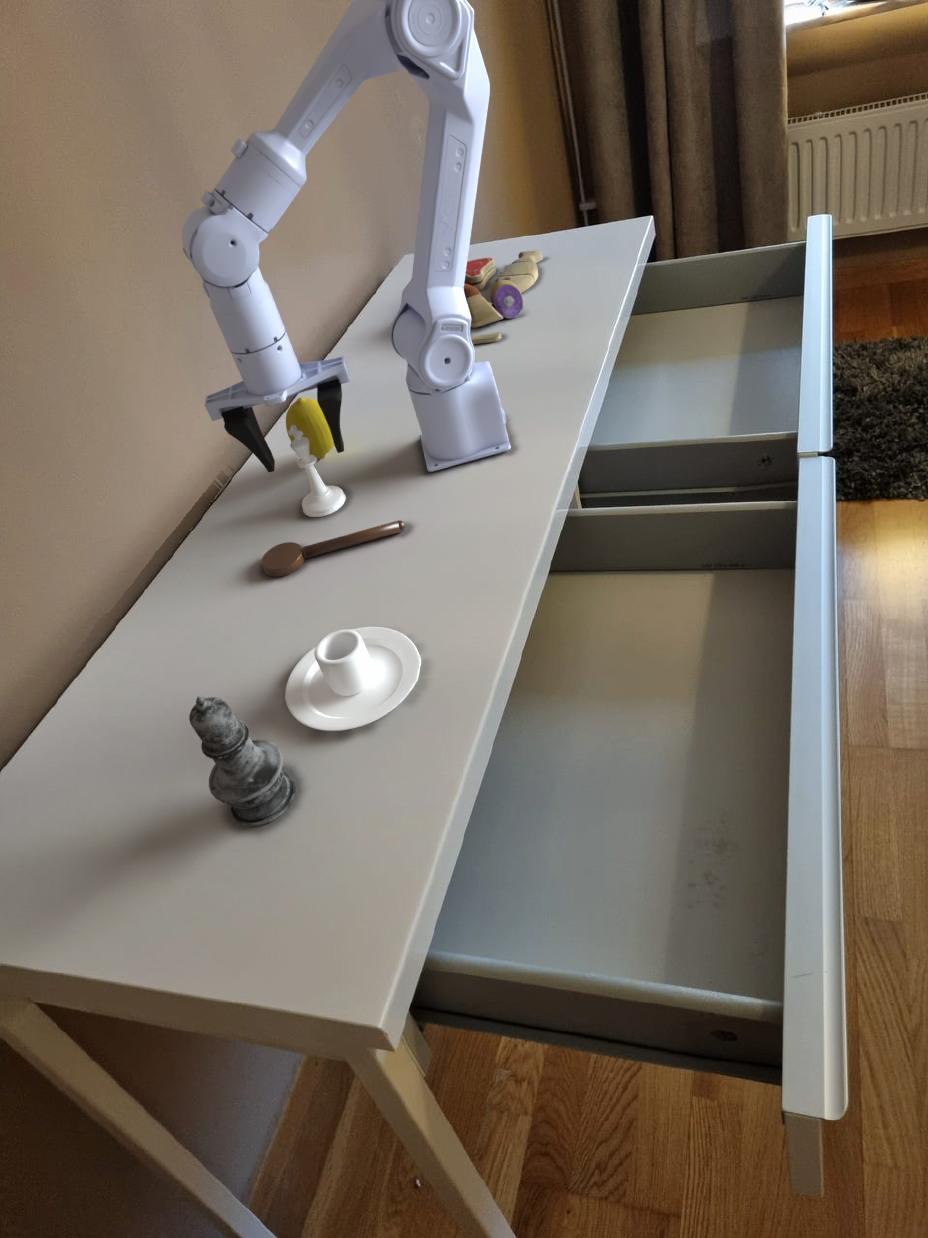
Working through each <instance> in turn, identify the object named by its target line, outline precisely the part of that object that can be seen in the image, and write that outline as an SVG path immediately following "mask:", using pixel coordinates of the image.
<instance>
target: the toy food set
mask: <svg viewBox="0 0 928 1238" xmlns="http://www.w3.org/2000/svg"><path fill="white" fill-rule="evenodd" d="M543 259H544V258H543V253H542V251H540V250H528V251H527V250H526V251H520V252H519V253H518V258H517V259H516V260H514V261H513V262H511V263H510V264H509V265H507V267H505V268H504V269H503V270H502V271H501V272H500V273H499V274H498V276H497V277H496V279H495V282H494V284H493V285H492V286H491V289H490V292H489V299H490V302H489V301H488V300H487V299H486V298H485V297H484V296H483V295H482V294H481V292H480V291H482V290H483V289H485V287H486V284H487V282H489V280H490V279H491V278H492V277H493V276H495V274H496V273H497V268H496V264H495V263H496V262H495V258H494V257H489V256H488V257H481V258H476V259H472V260H467V267H466V274H465V281H464V294H465V298H466V301H467V304H468V308H469V311H470V315H471V326H470V328H473V329H476V328H480V327H483V326H486V325H489V324H492V323H494V322H498V321H501V320H503V319H504V318H505V319H515V318H517V317H518V316H519V315H520V314H521V313H522V311H523V308H524V304H525V303H524V302H525V301H524V297H523V294H522V293H524V292H526V291H527V290H528V289H530V288H531V287H532V286H533V285H534V284H535V283H536V282H537V280H538V278H539V268H538V264H537V263H540V262H541V261H542V260H543ZM470 336H471V341H472V344H473V345H479V344H487V343H495V342H498V341H500V340H501V339H502V333H500V332H497V331H496V332H488V333H481V334H476V335H470Z"/></svg>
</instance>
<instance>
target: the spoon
mask: <svg viewBox="0 0 928 1238" xmlns="http://www.w3.org/2000/svg"><path fill="white" fill-rule="evenodd" d="M405 529H406V523H405V522H404V521H403V520H400V519H399V520H395V521H392V522H388V523H384V524H380V525H377V526H373V527H369V528H366V529H363V530H359V531H354V532H352V533H348V534H345V535H344V534H343V535H341V536H337V537H334V538H329V539H326V540H322V541H319V542H315V543H312V544H308V545H305V546H303V547H302V545H301V544H299V543H297V542H293V541H286V542H282V543H279V544H276V545H274V546H273V547H271V548H270V549H268V550H267V551H266V552H265V553H264V555H263V556H262V558H261V566H262V568H263V570H264V572H265V573H266V574H267V575H268V576H271V577H274V578H281V577H285V576H288V575H290V574H293V573H294V572H296V571H297V570H298V569H300V568H301V567H302V566H303V564H304V563H305V560H306V559H308V558H312V557H316V556H319V555H323V554H326V553H330V552H334V551H337V550H341V549H344V548H348V547H353V546H355V545H356V546H357V545H359V544H362V543H366V542H370V541H373V540H377V539H380V538H384V537H387V536H391V535H395V534H399V533H402V532H404V531H405Z"/></svg>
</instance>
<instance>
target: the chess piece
mask: <svg viewBox="0 0 928 1238" xmlns="http://www.w3.org/2000/svg"><path fill="white" fill-rule="evenodd" d="M288 434H289V435H292V436H294V438H295V440H293V441H292V442H291V441H290V443H289V444H290V445H289V446H290V448H291V450H292V451H294V453H295V454H296V455H297V456H298V457H299V459H298V461H297V467H298V468H301V469H305V470H304V471H305V473H306V476H307V480H308V485H309V488H310V492H309V493H306V495H305V496H304V498H303V499H302V501H301V507H302V512H303V514H304V515H306V516H308V517H310V518H311V517H312V518H320V517H325V516H329V515H331V514H333V513H335V512H336V511H338V510H339V509H340V508H341V507H343V505H344V503H345V501H346V498H347V497H346V494H345V493H344V490H343V489H342V488H340V487H339V486H336V485H326V484H325V483H324V481H323V480H322V478H321V476H320V474H319V472H318V471H317V469H316V467H315V464H316V463H317V461H318V457H315V456H314V455H310V451H309V440H308V438H306V437H301V436H302V435H303V432H302V431H299V430H297V428H296V425H292V426H290V430H289V431H288V433H287V435H288Z"/></svg>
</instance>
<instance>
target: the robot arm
mask: <svg viewBox="0 0 928 1238" xmlns="http://www.w3.org/2000/svg"><path fill="white" fill-rule="evenodd" d="M474 26H475V10H474V8H473V7H472V5H471V4H470V3H469V2H468V0H354V1H352V3H351V4H349V6H348V7H347V8H346V10H345V12H344V14H343V15H342V17H341V19H340V20H339V22H338V24H337V25H336V27H335V29H334V30H333V32H332V34H331V35H330V37H329V38H328V40H327V41H326V43H325V45H324V47H323V48H322V49H321V51H320V52H319V55H318V57H317V58H316V60H315V61H314V63H313V65H312V66H311V68H310V69H309V71H308V72H307V74H306V76H305V77H304V79H303V81H302V82H301V84H300V85H299V87H298V89H297V90H296V92H295V94H294V95H293V97H292V99H291V100H290V102H288V103H289V104H288V106H287V107H286V109H284V112H283V113H282V115H281V116H280V118H279V120H278V121H277V123H276V124H275V126H274V127H273V128H271V129H267V130H256V131H252V132H251V133H250V135H249V136H248V138H247V139H246V140H245V141H243V140H242V139H241V138H237V139H236V141H235V142H234V144H233V145H232V146H231V148H230V152H231V154H233V155H234V156H235V157H234V158H233V160H232V162H231V163H230V164H229V166H228V167H227V168H226V170H225V171H224V173H223V175H222V176H221V177H220V179H219V180H218V182H217V183H216V185H215V186H214V188H213V189H212V191H208V190H207V189H206V190H205V191H204V192H203V194H202V195H201V196H200V201H201V202H202V204H203V206H202V207H201V208H196V209H195V210H194V211H193V212H191V213H190V214H189V215H188V216H187V218H186V220H185V222H184V224H183V226H182V230H181V231H182V232H181V233H182V236H181V241H182V245H183V247H182V251H183V253H184V254H185V256H186V257H187V259H188V261H190V263H191V264H192V266H193V268H194V269H195V271H196V273H198V275H199V276H200V279H201V281H202V288H203V290H204V293H205V295H206V296H207V297H208V298H209V306H210V309H211V311H212V314H213V316H214V318H215V320H216V323H217V325H218V327H219V329H220V332H221V334H222V336H223V339H224V341H225V342H226V344H227V348H228V349H229V352H230V354H231V357H232V359H233V361H234V363H235V365H236V367H237V371H238V372H239V375H240V377H241V379H242V381H239V382H237V383H235V384H233V385H230V386H228V387H226V388H224V389H221V390H219V391H216V392H213V393H211V394H207V395H205V399H204V401H205V402H204V407H205V409H206V411H207V413H208V415H209V417H210V419H211V421H212V422H214V421H217V420H222V419H223V423H224V425H223V428H224V430H225V431H226V433H227V434H228V435H229V436H231V437H233V438H234V439H235V440H237V441H238V442H240V443H241V444H242V445H243V446H245V447H246V449H248V450H249V452H251V453H252V454H253V455H254V456H255V457H256V458H257V460H259V462H260V463H261V465H262V466H263V467H264V468H265V470H266V471H267V473H270V474H271V473H273V472H275V470H276V461H275V458H274V456H273V452H272V449H271V448H270V446H269V444H268V443H267V441H266V439H265V436H264V435H263V433H262V429H261V427H260V424H259V422H258V420H257V417H256V413H255V412H254V411H255V410H254V409H253V407H256V406H259V405H263V404H265V406H266V407H272V406H276V405H279V404H283V403H284V402H286V400H287V398H288V397H291V396H294V395H297V394H301V393H305V392H309V391H312V390H315V389H316V400H317V402H318V404H319V406H320V408H321V410H322V412H323V415H324V417H325V419H326V421H327V424H328V426H329V428H330V431H331V435H332V438H333V442H334V447H335V450H336V452H337V454H339V453H343V452H345V442H344V439H343V435H342V429H341V411H342V402H343V401H342V400H343V389H342V384H347V383H349V382H351V374H350V371H349V367H348V364H347V362H346V359H345V356H344V355H342V356H338V357H334V358H329V359H322V360H315V361H307V362H299V361H298V359H297V356H296V353H295V351H294V348H293V345H292V342H291V340H290V337H289V335H288V332H287V330H286V326H285V324H284V322H283V320H282V317H281V315H280V312H279V309H278V306H277V304H276V302H275V300H274V296H273V294H272V291H271V288H270V286H269V284H268V283H267V282H266V280H264V277H263V275H262V272H261V269H260V267H259V263H260V243H262V242H263V241H264V240H266V239H267V238H268V236H269V235H270V233H271V232H272V231H273V229H274V228H275V226H276V225H277V223H278V222H279V221H280V220H281V218H282V216H283V215H284V213H285V212H286V211H287V209H288V208H289V206H290V205H291V204H292V202H293V201H294V199H295V198H296V197H297V195H298V193H300V191H301V189H302V188H303V187H304V185H306V182H307V179H308V177H307V169H306V156H307V155H308V154H309V152H310V151H311V150H312V149H313V147H314V145H315V144H316V143H317V142H318V141H319V139H320V138H321V137H322V135H324V133H325V132H326V130H327V129H328V128H329V127H330V125H331V124H332V122H334V120H335V119H336V117H337V116H338V115H339V114H340V113H341V111H342V109H344V107H345V106H346V104H347V103H348V102H349V100H350V99H351V98H352V97H353V95H354V94H355V93H356V92H357V90H359V88H360V87H361V85H362V84H363V83H364V82H366V81H367V80H371V79H375V78H379V77H382V76H386V75H389V74H392V73H396V72H400V71H402V70H403V69H405V70H406V71H407V74H409V76H410V77H411V78H412V80H413V81H414V82H415V84H416V85H417V86H418V88H419V90H421V92H422V93H423V94H424V96H425V97H426V99H427V100H428V103H429V106H428V107H429V108H428V116H427V125H426V135H425V147H424V155H423V166H422V175H421V184H420V195H419V205H418V214H417V223H416V232H415V233H416V234H415V244H414V253H413V262H412V265H413V266H412V272H411V273H412V274H411V278H410V281H409V282H407V284H406V286H405V287H404V288H403V290H402V292H401V301H400V305H399V308H398V310H397V312H396V314H395V316H394V317H393V319H392V321H391V324H390V327H389V340H390V341H389V342H390V344H391V346H392V349H393V350H394V351H395V353H396V355H398V356H400V357H401V358H402V359H403V360H404V361H406V363H407V367H406V375H405V382H406V386H407V389H408V392H409V396H410V399H411V402H412V405H413V409H414V413H415V416H416V420H417V423H418V426H419V430H420V433H421V435H420V441H421V446H422V451H423V455H424V461H425V465H426V466H425V467H426V469H427V471H428V472H430V473H431V472H436V471H440V470H443V469H447V468H450V467H451V468H452V467H453V466H457V465H461V464H465V463H468V462H472V461H476V460H479V459H483V458H486V457H490V456H493V455H497V454H500V453H504V452H508V451H509V450H511V448H512V446H511V443H510V439H509V435H508V430H507V426H506V424H507V417H506V413H505V410H504V407H503V406H502V403H501V399H500V394H499V390H498V387H497V383H496V379H495V376H494V373H493V369H492V367H491V366H492V365H491V363H490V361H488V360H485V361H477V362H476V361H475V359H476V355H475V354H476V352H475V347H474V344H472V341H471V336H472V335H471V327H470V326H471V315H470V311H469V308H468V304H467V301H466V298H465V294H464V281H465V274H466V267H467V262H468V257H469V251H470V244H471V237H472V229H473V221H474V213H475V208H476V207H475V205H476V198H477V193H478V192H477V191H478V184H479V177H480V170H481V162H482V153H483V147H484V140H485V132H486V125H487V118H488V109H489V103H490V96H491V90H490V89H491V83H490V78H489V75H488V71H487V69H486V65H485V62H484V58H483V55H482V51H481V49H480V45H479V42H478V38H477V35H476V32H475V27H474Z"/></svg>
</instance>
